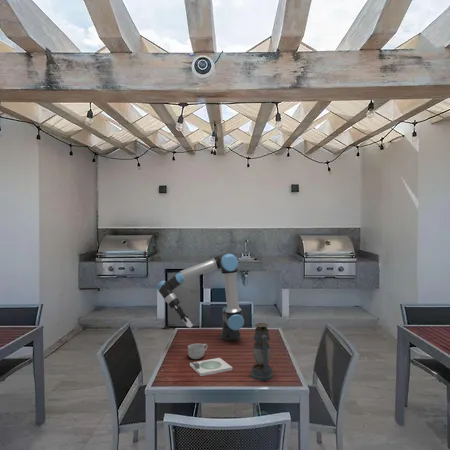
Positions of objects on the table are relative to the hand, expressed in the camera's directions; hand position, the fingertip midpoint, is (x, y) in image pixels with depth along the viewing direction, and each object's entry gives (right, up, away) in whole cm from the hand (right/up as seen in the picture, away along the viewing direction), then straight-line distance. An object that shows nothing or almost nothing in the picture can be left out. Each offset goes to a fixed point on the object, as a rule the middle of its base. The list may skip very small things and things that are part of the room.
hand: (190, 326), depth 258 cm
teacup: (+6, -17, -11) cm, 21 cm away
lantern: (+45, -17, -41) cm, 63 cm away
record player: (+15, -17, -29) cm, 37 cm away
